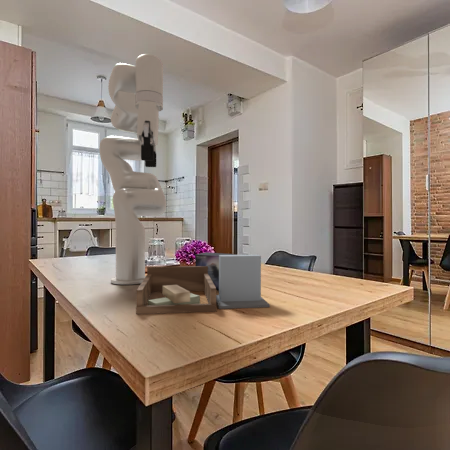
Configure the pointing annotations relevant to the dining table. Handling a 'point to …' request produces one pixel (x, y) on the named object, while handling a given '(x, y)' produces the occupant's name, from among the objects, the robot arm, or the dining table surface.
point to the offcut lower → (165, 301)
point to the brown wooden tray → (183, 277)
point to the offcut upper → (176, 293)
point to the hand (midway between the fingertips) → (149, 163)
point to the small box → (210, 265)
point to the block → (239, 278)
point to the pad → (241, 304)
